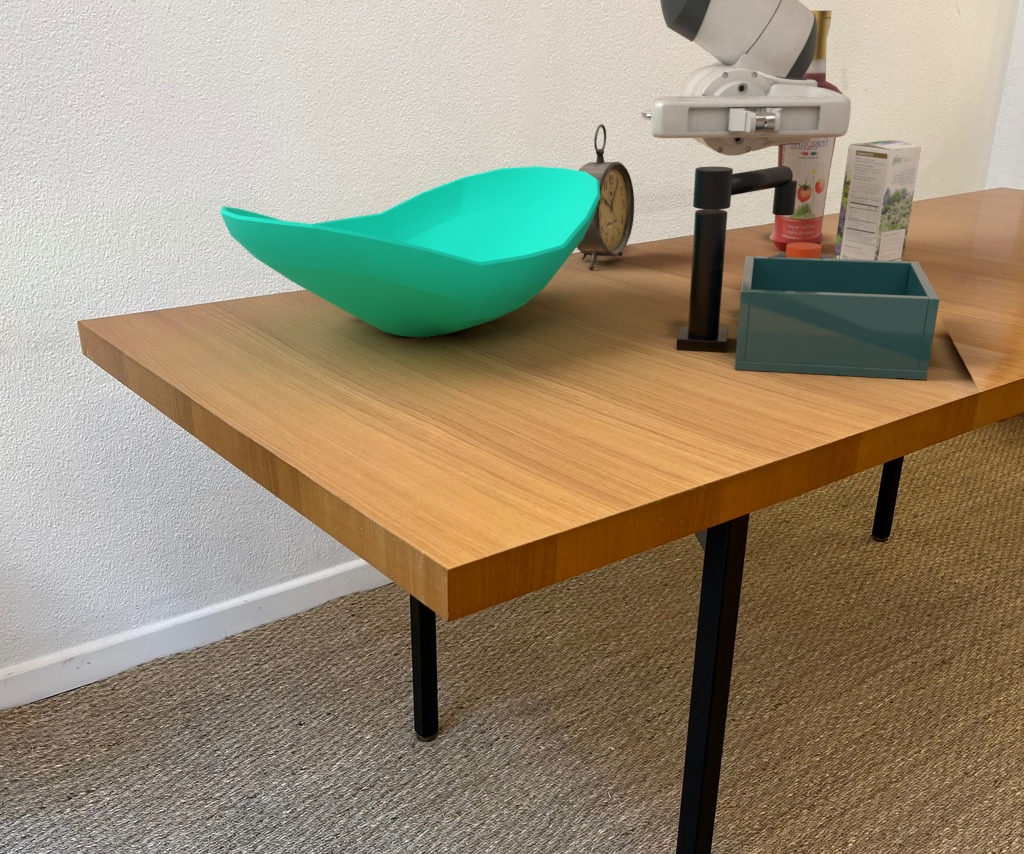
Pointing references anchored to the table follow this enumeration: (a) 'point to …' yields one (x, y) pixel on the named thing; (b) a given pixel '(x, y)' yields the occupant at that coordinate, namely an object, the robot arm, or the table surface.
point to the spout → (743, 187)
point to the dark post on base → (706, 285)
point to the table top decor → (434, 249)
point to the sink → (836, 317)
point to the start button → (803, 250)
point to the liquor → (808, 163)
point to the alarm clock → (609, 208)
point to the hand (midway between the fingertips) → (765, 123)
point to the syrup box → (877, 200)
